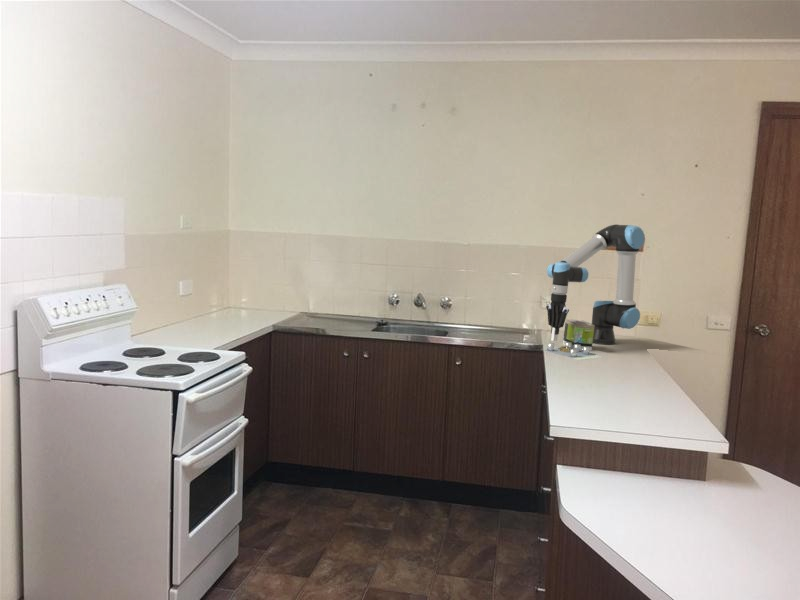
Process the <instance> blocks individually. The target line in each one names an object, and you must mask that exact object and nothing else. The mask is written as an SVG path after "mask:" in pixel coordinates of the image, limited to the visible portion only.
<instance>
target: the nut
mask: <svg viewBox="0 0 800 600" xmlns="http://www.w3.org/2000/svg"><path fill="white" fill-rule="evenodd" d="M559 349H560V351H561V352H570V347H565V346H564V345H563V346H560V347H559Z"/></svg>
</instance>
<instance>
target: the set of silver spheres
mask: <svg viewBox="0 0 800 600" xmlns="http://www.w3.org/2000/svg"><path fill="white" fill-rule="evenodd" d="M546 345H547V347H546V350H547V351H546V352H548V351H554V349H555V343H552V342H548V343H547V344H546ZM564 347H570V357H577V352H580V351H581V350H580V349H581V345H580V344H574V349H571V348H572V343H571V342H565V345H564ZM590 351H591V350H590V347H588V346H583V350H582V352H583V353H582V354H585V355H589V353H590ZM570 357H569V358H570Z"/></svg>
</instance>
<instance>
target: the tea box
mask: <svg viewBox="0 0 800 600" xmlns="http://www.w3.org/2000/svg"><path fill="white" fill-rule="evenodd" d="M594 327H595V325H593V324H592V323H590V322H588V321H586V320H580V319H567V318H566V319H565V322H564V333H563V338H562V339H563V341H562V344H563V346H565V342H571V343H572V348H571V349H574V344H580V345H581V349H580V351H583V346H588V347H590V351H592V349H593V344H594V343H593V335H594Z"/></svg>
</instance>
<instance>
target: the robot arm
mask: <svg viewBox="0 0 800 600" xmlns="http://www.w3.org/2000/svg"><path fill="white" fill-rule="evenodd" d="M645 240H646V235H645V232H644V230H643V229H642V228H641V227H640V226H637V225H632V224H630V225H628V224H611V225H608V226H606V227H604V228H602V229H600V230H598V231H597V232H596V233H595V234H594V233H593V235H592V236H591V239H589V240H588V241H587V242H585V243H583V245H581V246H580V247H578V248H576V250H574V251H573V252H572V253H570V254H569V255H568V256H566V257H565V258H563V259H562V260H560V261H556V262H555V263H551V264H549V265H548V267H547V269H546V274H547V276H548V277H549V278H552V286H551V294H550V304H548V305H546V307H545V308H546V310H547V321H548V322H547V324H548V326H549V327H551V330H550V333H551V339H550V340H551V341H552V342H556V341H558V335H559V334H560V329H561V328H563V327H564V326H565V322H566V319H567V316H568V313H569V312H570V309H569V308H567V307H566V303H567V300H568V299H567V298H568V296H567V294H568V288H569V283H585V282H586V281H587V280H588V278H589V270H588V269H587V268H585V267H582V266H581V265H582V264H583V263H585V262H586V261H588V260H589V259H590V258H591V257H594V255H596V254H597V253H599V252H600V251H604V250H606V249H608V248H611V247H615V252H616V253H617V254H618V256H617V258H618V259H617V276H616V278H617V279H616V292H615V293H616V294H615V295H616V296H615V297H616V298H615V300H596V301H594V302H593V307H592V314H591V317H592V318H591V324H593V325H595V327H594V335H593V343H592V344H598V345H615V344H616V338H615V332H614V327H618V328H621V329H627V330H629V329H633V328H635V327H636V326H637V324H638V323H639V321H640V318H641V312H640V310H639V309H638V308H637V307H636V306H637V303H636V302H635V301H634V291H635V289H634V288H635V273H636V257H637V254H639V253H640V249H641V248H643V246H644V244H645V242H646V241H645Z"/></svg>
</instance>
